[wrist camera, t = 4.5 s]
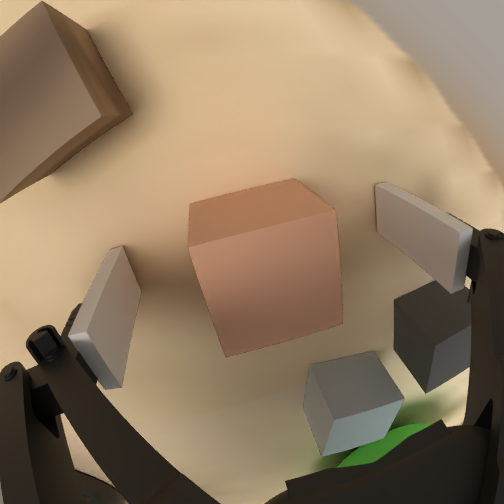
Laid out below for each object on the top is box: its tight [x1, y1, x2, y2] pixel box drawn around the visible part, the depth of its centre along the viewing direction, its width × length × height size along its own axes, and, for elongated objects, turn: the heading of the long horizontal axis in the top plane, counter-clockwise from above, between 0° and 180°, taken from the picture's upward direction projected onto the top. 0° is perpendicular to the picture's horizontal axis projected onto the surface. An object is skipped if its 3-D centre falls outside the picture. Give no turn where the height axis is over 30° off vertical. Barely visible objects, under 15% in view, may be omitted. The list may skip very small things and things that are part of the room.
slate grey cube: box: [303, 351, 405, 457], centre depth 20 cm, size 5×5×5 cm
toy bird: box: [336, 423, 432, 468], centre depth 23 cm, size 18×17×15 cm
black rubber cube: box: [394, 280, 471, 394], centre depth 18 cm, size 5×5×5 cm
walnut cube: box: [0, 1, 133, 203], centre depth 9 cm, size 5×5×5 cm
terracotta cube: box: [188, 178, 343, 357], centre depth 14 cm, size 5×5×5 cm
